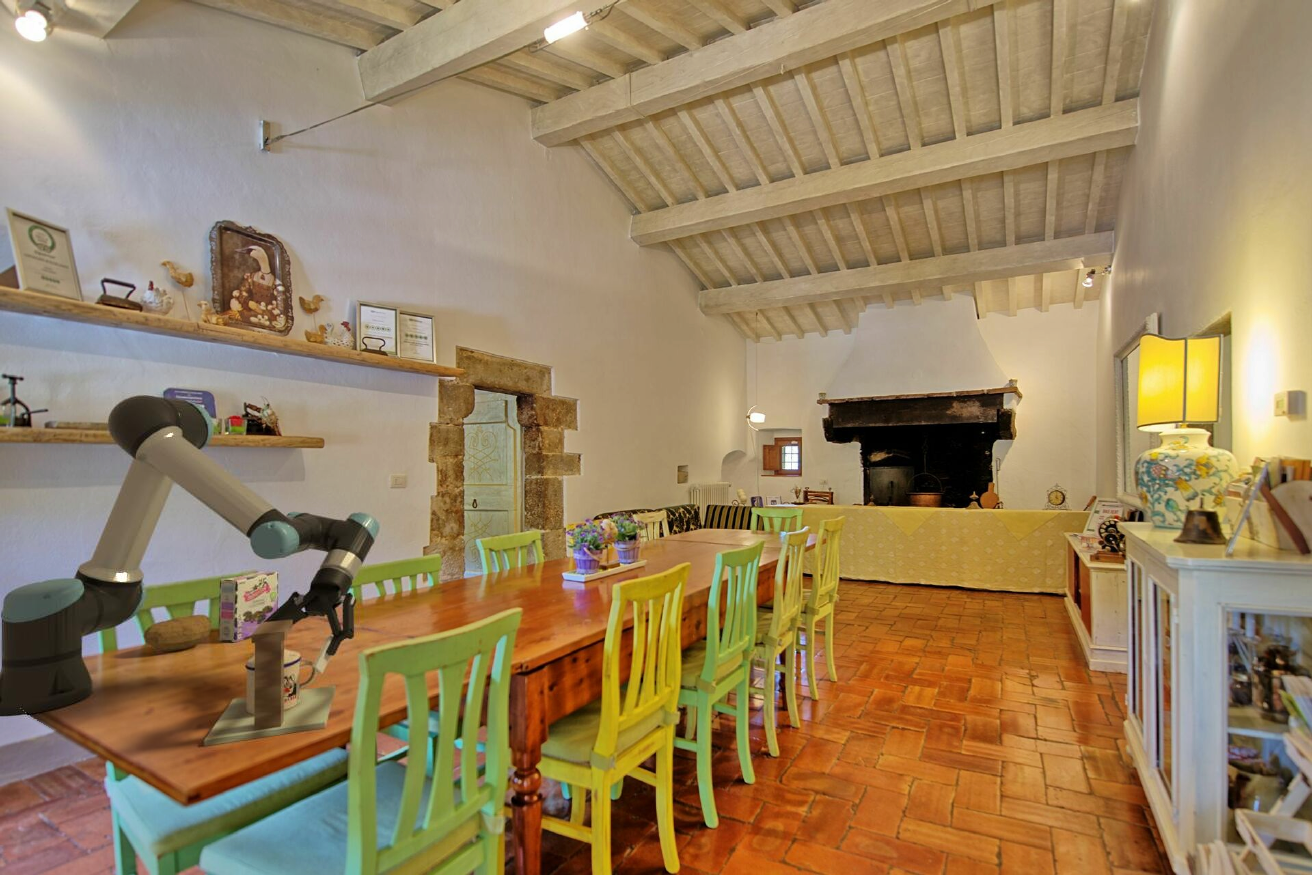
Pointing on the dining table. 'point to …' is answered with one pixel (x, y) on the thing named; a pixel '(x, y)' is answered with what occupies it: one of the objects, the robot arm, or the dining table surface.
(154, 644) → the potato
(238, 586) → the candy box
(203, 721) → the dining table surface
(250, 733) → the stand
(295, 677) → the teacup with lid
